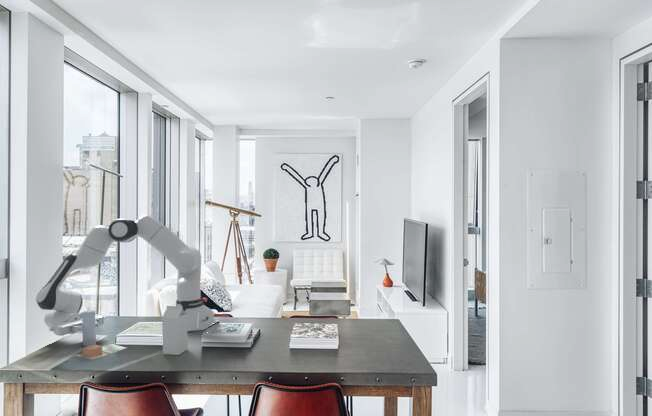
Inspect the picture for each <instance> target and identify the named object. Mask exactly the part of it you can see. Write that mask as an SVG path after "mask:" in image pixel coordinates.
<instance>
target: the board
mask: <svg viewBox="0 0 652 416" xmlns="http://www.w3.org/2000/svg"><path fill="white" fill-rule="evenodd" d="M126 349H127V347H125V346H121V345H118V344H113V343H110V344H107V345H103V346H102V354H100V355H97V356H94V357H87V356H83V352H81V353H78V354H75V355H74V356H75V357H79V358H83V359H85V360H89V361H93V360H96V359H99V358H102V357H106V356H108V355H110V354H114V353H117V352H120V351H124V350H126Z"/></svg>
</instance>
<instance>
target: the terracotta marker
mask: <svg viewBox="0 0 652 416" xmlns="http://www.w3.org/2000/svg"><path fill="white" fill-rule="evenodd" d="M102 347H103V346H102V345H98V344H94V345H91V346H83V347H82V353H83V356H87V357H94V356H97V355H100V354H102Z"/></svg>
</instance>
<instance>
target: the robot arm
mask: <svg viewBox="0 0 652 416" xmlns="http://www.w3.org/2000/svg"><path fill="white" fill-rule="evenodd" d="M137 237H138V238H139V237H140V238H141V239H143V240H144V241H145V242H147V243H148V244H149V245H150V246H152V247H153V248H154V249H155V250H157V251H158V252H159V253H161V255H162V256H163V257H165V259H166V261H168V262H169V263H170V264H171V265H172V266H173V267H174V268H175V269H176V270H177V281H176V301H175V306H182V307H183V310H184V311H185V312H186V314H187V332H193V331H204V330H206V329H209V328H210V327H209V326H210V325H211V324H212V323H216V322H219V323H220V320H219V319H217V318H215V314H214V310H212V309H211V308H209V307H207V305H205V304H204V302H205V303H207V302H208V298H207V297H202V295H201V278H202V277H201V275H202V272H201V271H202V254H201V252H200V250H198V249H197V248H196V247H193V246H188V245H187V244H186V243H185V242H183V240H181V238H180V237H179V236H178V235H177V234H176V233H174V232H173V231H172V230H171V229H169V228H168V227H167V226H166V225H165V224H164V223H162V222H161V221H159V220H157V219H156V218H154V217H153V216H151V215H147V214H145V215H141V216H140V217H138V218H137V220H132V219H128V218H116V219H114V220H112V222H111V223H110V224H109V226H108V227H107V226H105V225H95V226H93V227H92V229H91V230H90V231H89V232H88V234H86V237H85V239H84V240H83V242H82V244H81V246H80V247H79V248H78V249H77V250H76V251H75V252H74V253H71V254H68V256H66V257H65V258H64V260H63V261H62V263H61V264H60V265H59V266H58V268H57V269H56V270H55V272H54V274H53V275H52V276H51V278H50V279H49V281H48V282H46V284H45V285H44V286H43V287H42V288H41V290H40V291H38V293H37V296H36V298H35V299H36V304H37V305H38V307H39V308H40V309H41V310H43V311H44V310H45V311H46V310H47V311H48V312H47V313H46V314H45V316H44V324H45V326H46V327H48V328H49V329H48V330H49V332H53V334H54V335H56V336H59V337H60V336H61V337H62V336H66V335H69V334H70V335H73V334H76V333H79V332H81V333H82V332H83V331H85V327H84V326H82V312H81V310H82V307H83V297H82V295H81V294H80V292H78V291H73V290H67V289H63V288H61V287H62V285H63V284H64V283H65V281H66V279H68V277H69V275H70V274H71V273H72V272H74V271H76V270H79V269H80V270H81V269H87V268H94V267H96V266H98V265H100V264H101V263H102V262H103V260H104V259H105V257H106V254H107V253H108V251H109V249H110V247H111V245H112V244H113V243H115V242H117V243H123V244H124V243H130V242H132V241H134V240H135V239H136V238H137ZM95 319H96V328H99V327H100V326H102V325H104V324H105V316H104V315H102V314H98V313H95ZM208 327H209V328H208Z"/></svg>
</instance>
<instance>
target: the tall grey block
mask: <svg viewBox="0 0 652 416" xmlns="http://www.w3.org/2000/svg"><path fill="white" fill-rule="evenodd" d="M81 313H82V326H84V327H85V331H82V346H83V347H88V346H91V345H94V344H95V345H97V327H96V319H95V314H96V310H85V311H82V312H81Z"/></svg>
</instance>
